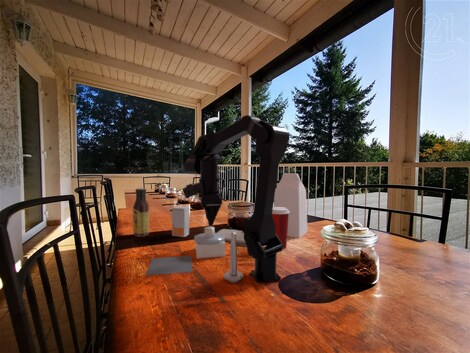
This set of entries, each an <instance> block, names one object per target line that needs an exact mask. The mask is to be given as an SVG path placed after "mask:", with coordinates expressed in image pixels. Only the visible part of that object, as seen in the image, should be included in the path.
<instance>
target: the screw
mask: <svg viewBox="0 0 470 353" xmlns="http://www.w3.org/2000/svg"><path fill="white" fill-rule="evenodd" d="M236 243H237V242H236V233H234V232H232V233H231V243H229V251H230V252H229V256H230V257H229V265H230V266H229V270H228V271H226V272H225V273H224V274H223V278H224V279H225V280H226V281H228V282H229V283H232V284H234V283H235V284H236V283H238V282H239V281H241V280H242V279H243V278H244V274H243V272H242V271H240V270H238V245H237V244H236Z"/></svg>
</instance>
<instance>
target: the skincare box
mask: <svg viewBox="0 0 470 353" xmlns="http://www.w3.org/2000/svg"><path fill="white" fill-rule="evenodd" d="M171 235H172V237H181V238H185V237H188V235H190V206H173V207H171Z"/></svg>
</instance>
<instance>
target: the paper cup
mask: <svg viewBox="0 0 470 353" xmlns="http://www.w3.org/2000/svg"><path fill="white" fill-rule="evenodd" d="M289 213H290V212H289V210H288V209H287V208H284V207H274V206H273V210H272V217H273V220H274V222H275V233H276V235H277V236H278V237H279V239H280V240H281V242H282V243H283V244H284V247H283V249H282V250H285V249H286V248H287V244H288V243H287V242H288V236H287V231H288V216H289Z"/></svg>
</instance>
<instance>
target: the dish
mask: <svg viewBox="0 0 470 353" xmlns="http://www.w3.org/2000/svg"><path fill="white" fill-rule="evenodd" d="M195 257H196V259H207V258H221V257H222V258H223V257H226V241H223V242H221V243H218V244H211V245H205V244H199V243H196V242H195Z"/></svg>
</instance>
